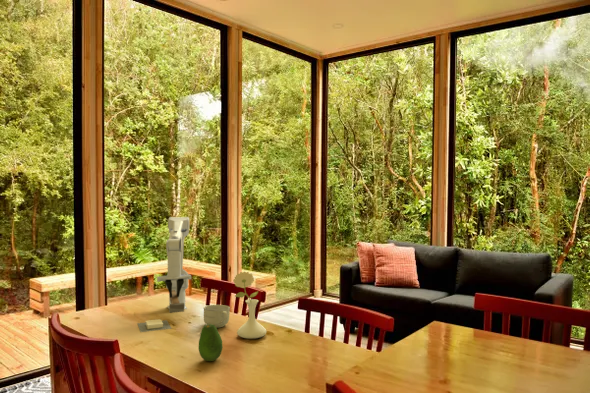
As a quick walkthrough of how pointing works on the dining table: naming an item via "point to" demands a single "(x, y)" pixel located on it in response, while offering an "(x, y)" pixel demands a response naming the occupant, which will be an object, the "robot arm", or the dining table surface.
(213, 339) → the fruit
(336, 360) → the dining table surface
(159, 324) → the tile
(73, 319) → the dining table surface
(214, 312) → the teacup
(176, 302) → the hammer
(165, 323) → the mat
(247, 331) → the flower in vase
